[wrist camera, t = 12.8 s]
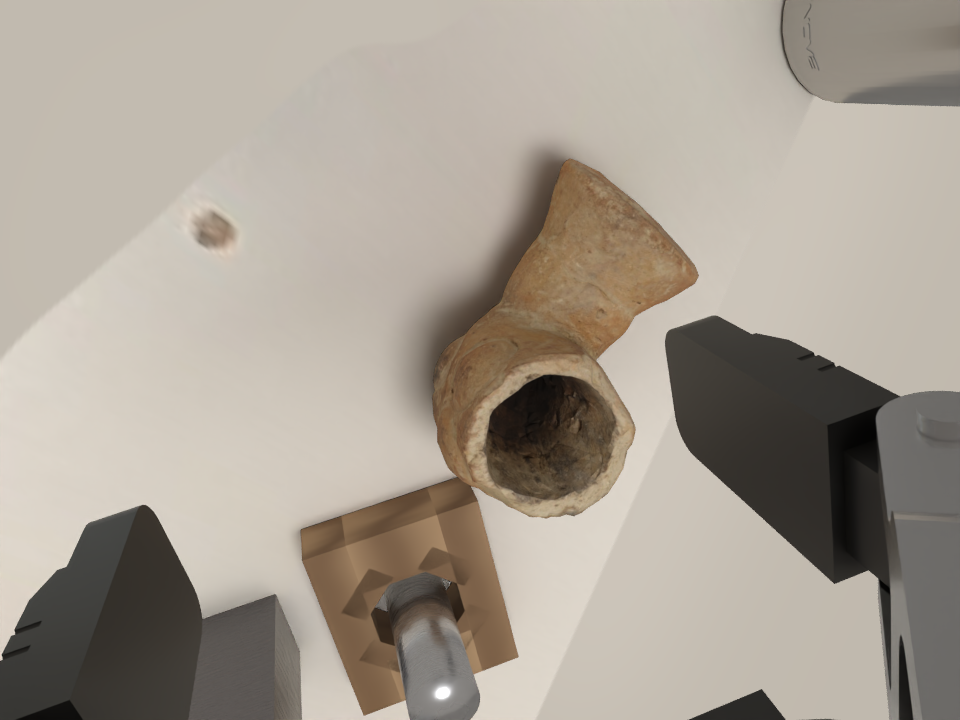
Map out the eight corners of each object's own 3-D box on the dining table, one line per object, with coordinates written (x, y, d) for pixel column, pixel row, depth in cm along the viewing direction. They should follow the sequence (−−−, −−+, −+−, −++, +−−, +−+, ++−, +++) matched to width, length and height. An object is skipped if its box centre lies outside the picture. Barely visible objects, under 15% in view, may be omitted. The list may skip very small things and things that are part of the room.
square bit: (275, 594, 42) (273, 731, 33) (299, 651, 44) (304, 795, 35) (197, 621, 42) (173, 769, 33) (225, 677, 43) (210, 832, 34)
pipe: (666, 229, 41) (776, 269, 32) (513, 460, 43) (574, 558, 34) (542, 141, 37) (626, 157, 28) (384, 398, 40) (415, 489, 31)
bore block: (465, 474, 43) (477, 500, 40) (504, 624, 48) (518, 657, 45) (301, 529, 41) (302, 560, 39) (359, 678, 46) (363, 715, 43)
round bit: (432, 547, 44) (471, 666, 35) (445, 592, 45) (486, 717, 36) (375, 566, 43) (400, 692, 34) (391, 611, 45) (418, 743, 36)
